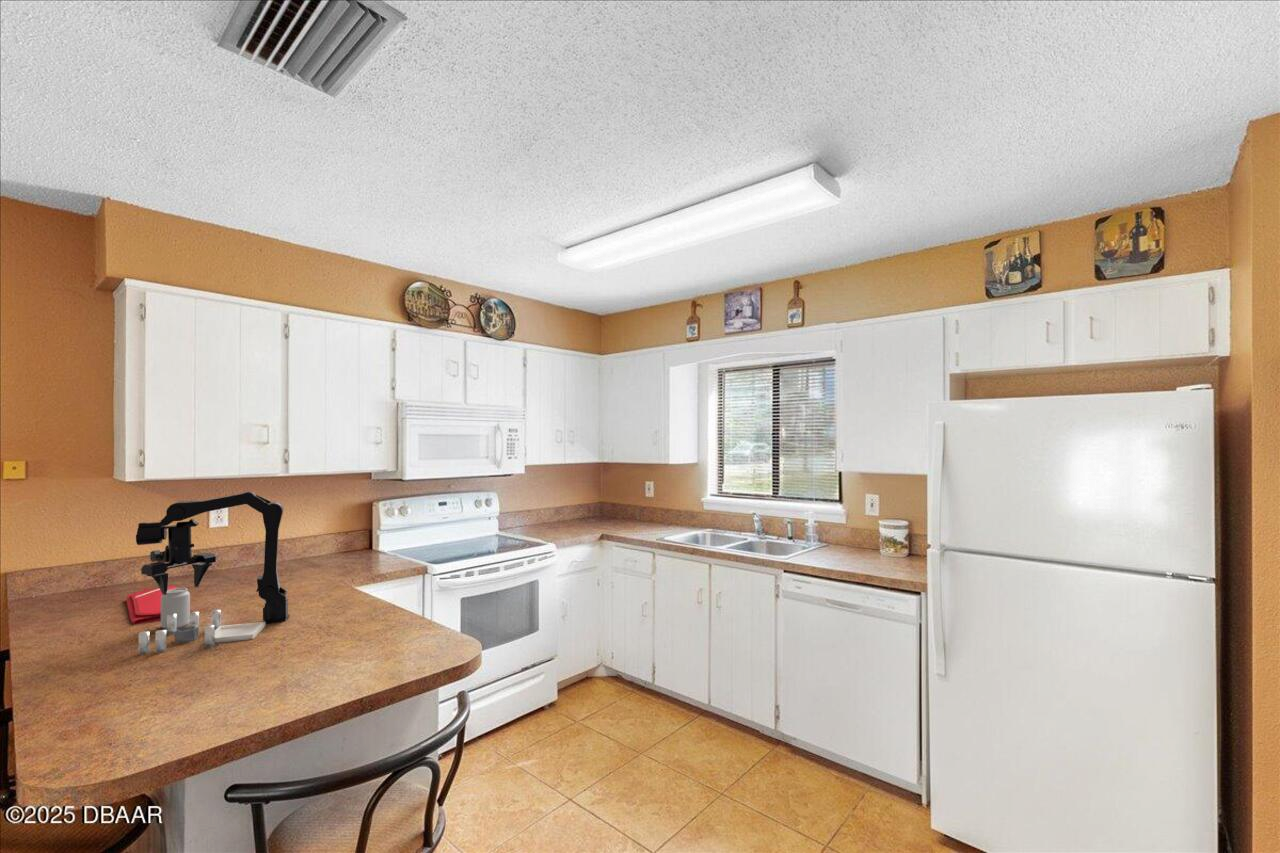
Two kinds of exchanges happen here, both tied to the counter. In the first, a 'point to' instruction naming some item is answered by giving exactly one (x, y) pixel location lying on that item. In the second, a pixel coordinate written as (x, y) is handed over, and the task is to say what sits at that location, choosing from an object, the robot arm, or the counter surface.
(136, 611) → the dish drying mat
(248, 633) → the tray
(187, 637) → the grey faceted icosahedron
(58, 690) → the counter surface
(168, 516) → the robot arm
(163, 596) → the can
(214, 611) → the spacer posts
